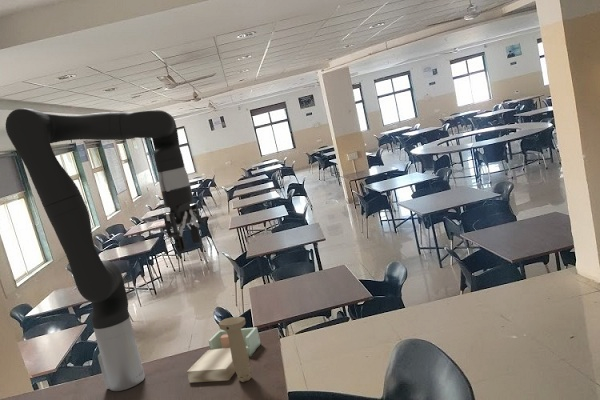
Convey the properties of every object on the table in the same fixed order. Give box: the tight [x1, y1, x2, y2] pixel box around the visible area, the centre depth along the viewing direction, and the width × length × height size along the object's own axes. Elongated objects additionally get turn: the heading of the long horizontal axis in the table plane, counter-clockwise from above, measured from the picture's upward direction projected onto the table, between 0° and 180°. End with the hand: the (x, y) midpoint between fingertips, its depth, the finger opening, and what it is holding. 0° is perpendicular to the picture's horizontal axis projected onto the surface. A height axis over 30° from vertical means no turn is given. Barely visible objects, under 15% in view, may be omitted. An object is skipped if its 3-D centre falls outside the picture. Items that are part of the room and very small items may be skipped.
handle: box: [218, 316, 253, 383], centre depth 123 cm, size 5×6×15 cm
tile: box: [220, 334, 230, 348], centre depth 142 cm, size 4×4×2 cm
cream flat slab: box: [186, 348, 236, 384], centre depth 132 cm, size 11×12×3 cm
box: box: [208, 326, 262, 357], centre depth 142 cm, size 12×8×5 cm, turn 74°
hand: (189, 246), depth 135 cm, fingers open, 8 cm apart
